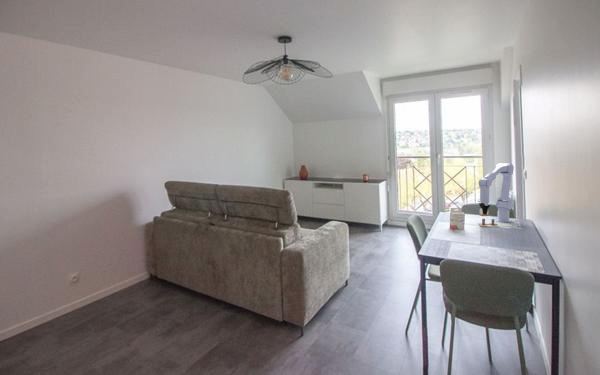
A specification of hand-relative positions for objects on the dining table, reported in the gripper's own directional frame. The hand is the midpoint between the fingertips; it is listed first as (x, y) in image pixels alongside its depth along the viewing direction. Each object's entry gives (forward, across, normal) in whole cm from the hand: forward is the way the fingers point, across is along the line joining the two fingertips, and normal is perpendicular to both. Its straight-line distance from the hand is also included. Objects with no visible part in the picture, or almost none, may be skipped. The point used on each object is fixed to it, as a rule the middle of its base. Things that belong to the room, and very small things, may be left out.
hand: (483, 213), depth 236 cm
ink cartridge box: (+9, +12, -19) cm, 24 cm away
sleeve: (+1, 0, 0) cm, 1 cm away
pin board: (+9, 0, +3) cm, 9 cm away
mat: (+9, -3, +14) cm, 17 cm away
